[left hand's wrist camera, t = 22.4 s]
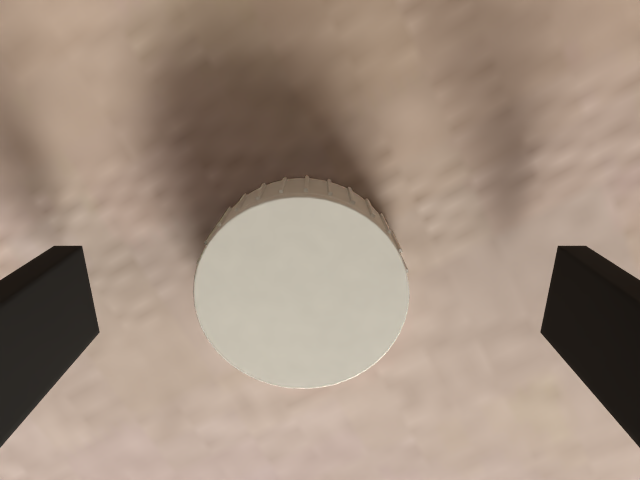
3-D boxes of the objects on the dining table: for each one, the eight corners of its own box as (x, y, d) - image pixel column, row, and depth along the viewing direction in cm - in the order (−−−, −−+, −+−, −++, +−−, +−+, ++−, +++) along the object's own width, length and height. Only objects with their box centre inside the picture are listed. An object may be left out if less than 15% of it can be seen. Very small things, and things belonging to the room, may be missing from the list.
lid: (185, 193, 13) (161, 214, 11) (387, 158, 12) (400, 173, 11) (233, 360, 15) (221, 404, 13) (408, 334, 15) (422, 375, 13)
